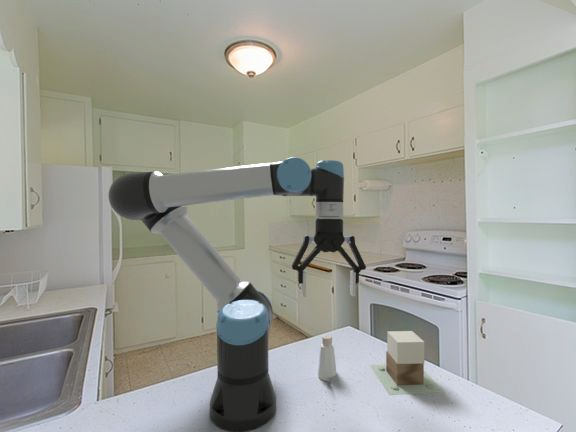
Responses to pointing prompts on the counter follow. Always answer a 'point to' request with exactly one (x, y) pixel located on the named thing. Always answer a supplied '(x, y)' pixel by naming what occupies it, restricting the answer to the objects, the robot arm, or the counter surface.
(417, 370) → the brick
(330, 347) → the pepper shaker
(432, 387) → the base plate
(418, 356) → the brick
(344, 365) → the counter surface
